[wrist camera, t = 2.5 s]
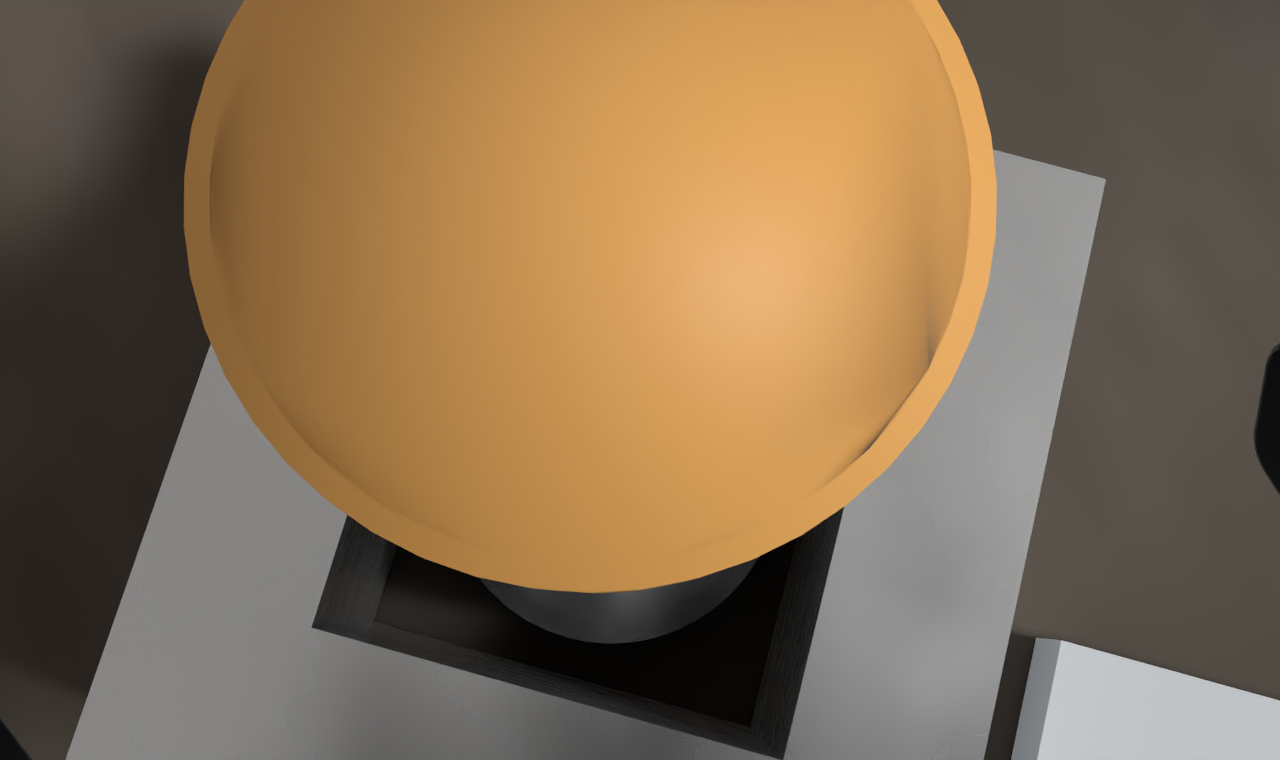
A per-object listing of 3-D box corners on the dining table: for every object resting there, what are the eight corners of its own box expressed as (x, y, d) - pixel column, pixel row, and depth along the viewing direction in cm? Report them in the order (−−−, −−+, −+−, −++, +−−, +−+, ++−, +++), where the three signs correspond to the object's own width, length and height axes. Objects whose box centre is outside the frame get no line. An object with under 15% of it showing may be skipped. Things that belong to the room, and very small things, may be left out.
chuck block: (864, 928, 16) (929, 1017, 13) (178, 732, 17) (62, 768, 13) (1013, 258, 18) (1105, 179, 15) (391, 93, 18) (338, -23, 15)
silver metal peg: (719, 673, 17) (1021, 907, 4) (426, 591, 17) (-148, 576, 4) (793, 383, 18) (1236, -167, 5) (512, 307, 18) (243, -416, 5)
